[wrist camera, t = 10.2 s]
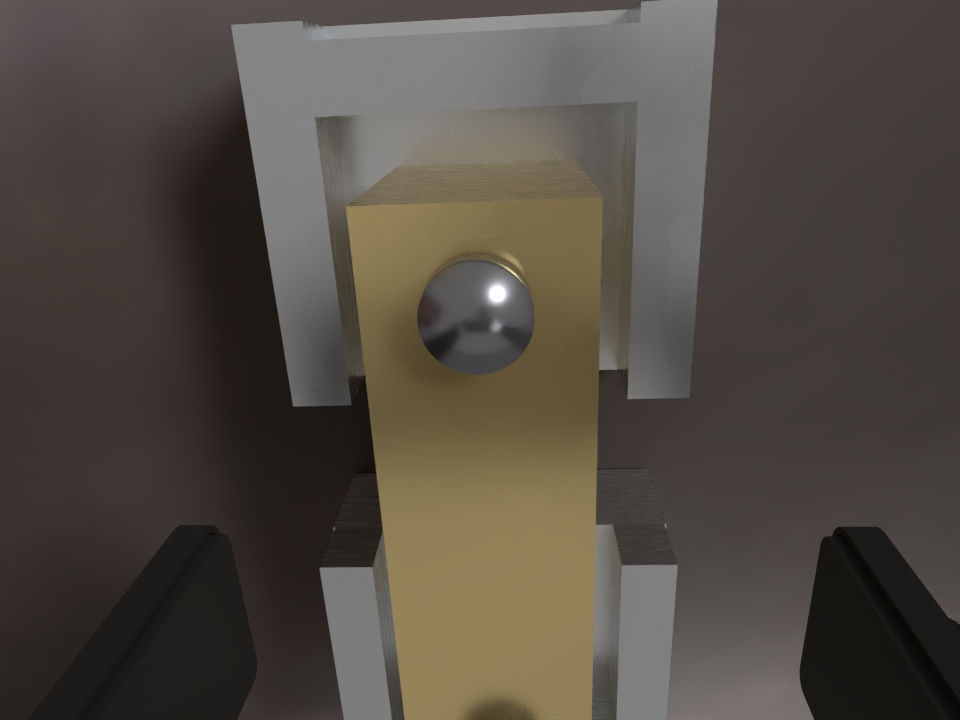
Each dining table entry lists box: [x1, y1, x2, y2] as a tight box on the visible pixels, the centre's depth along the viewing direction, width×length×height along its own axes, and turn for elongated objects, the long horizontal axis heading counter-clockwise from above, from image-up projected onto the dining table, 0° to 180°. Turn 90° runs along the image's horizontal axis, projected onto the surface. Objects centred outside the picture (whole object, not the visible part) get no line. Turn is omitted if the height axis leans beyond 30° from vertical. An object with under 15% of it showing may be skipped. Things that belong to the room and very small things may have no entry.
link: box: [346, 159, 603, 720], centre depth 14 cm, size 12×4×5 cm, turn 2°
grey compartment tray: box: [231, 0, 718, 720], centre depth 17 cm, size 18×8×4 cm, turn 3°
